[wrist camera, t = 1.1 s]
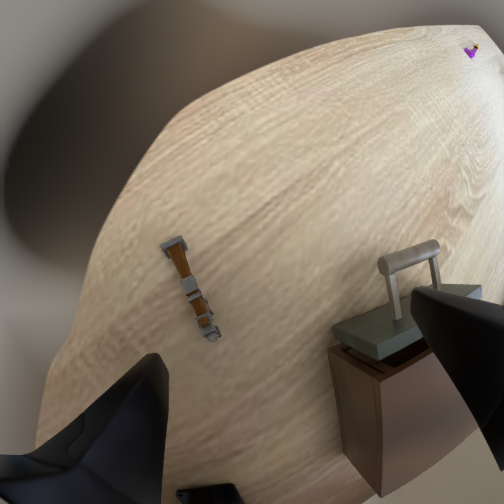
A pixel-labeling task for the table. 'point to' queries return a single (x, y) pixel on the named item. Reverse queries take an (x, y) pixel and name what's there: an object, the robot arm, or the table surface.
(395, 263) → the drawer
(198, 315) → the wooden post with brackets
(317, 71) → the table surface
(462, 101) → the table surface
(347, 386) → the cabinet
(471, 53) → the purple and gold rod
